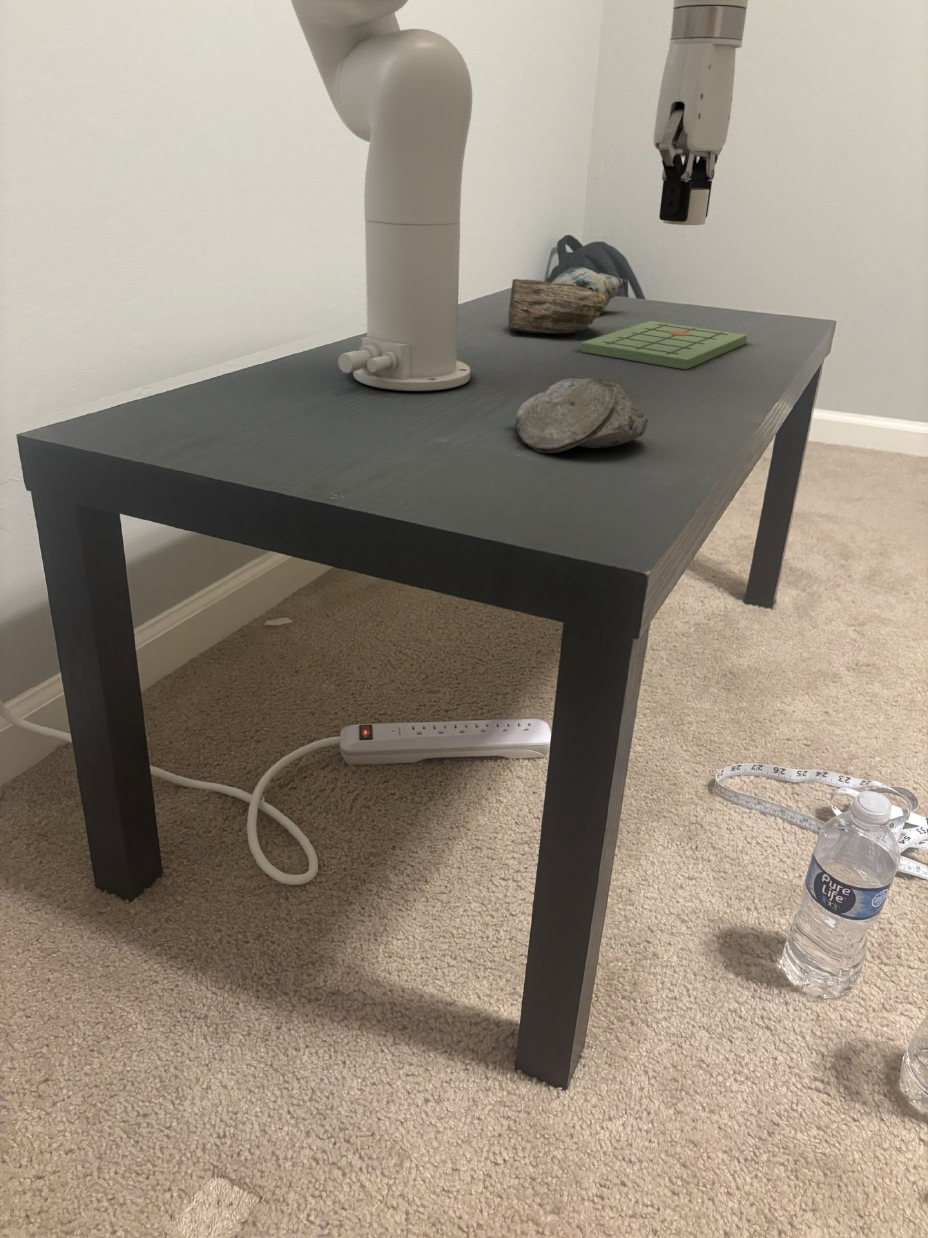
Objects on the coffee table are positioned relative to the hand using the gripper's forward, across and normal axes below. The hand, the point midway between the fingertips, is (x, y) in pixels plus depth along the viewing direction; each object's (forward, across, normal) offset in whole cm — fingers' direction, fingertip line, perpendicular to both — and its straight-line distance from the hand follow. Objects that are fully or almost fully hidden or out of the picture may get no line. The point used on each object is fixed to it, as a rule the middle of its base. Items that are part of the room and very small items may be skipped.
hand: (683, 217), depth 104 cm
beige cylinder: (+1, 0, 0) cm, 1 cm away
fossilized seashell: (+16, +38, +9) cm, 42 cm away
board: (+16, -5, -2) cm, 17 cm away
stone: (+16, -4, -18) cm, 25 cm away
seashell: (+16, -20, -24) cm, 35 cm away
